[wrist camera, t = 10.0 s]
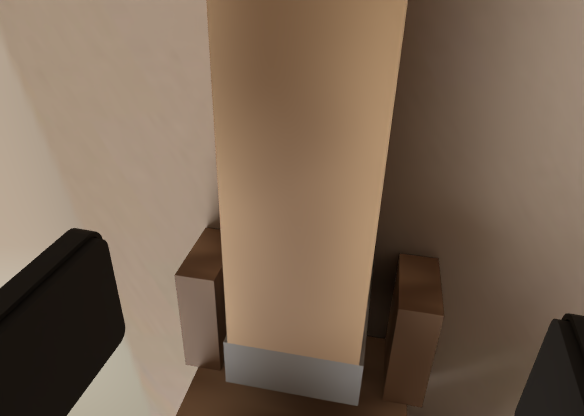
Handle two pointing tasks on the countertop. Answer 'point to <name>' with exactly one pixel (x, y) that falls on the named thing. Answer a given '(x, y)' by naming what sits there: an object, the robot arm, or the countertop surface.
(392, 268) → the countertop surface
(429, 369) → the wooden footed block
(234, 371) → the wooden block
